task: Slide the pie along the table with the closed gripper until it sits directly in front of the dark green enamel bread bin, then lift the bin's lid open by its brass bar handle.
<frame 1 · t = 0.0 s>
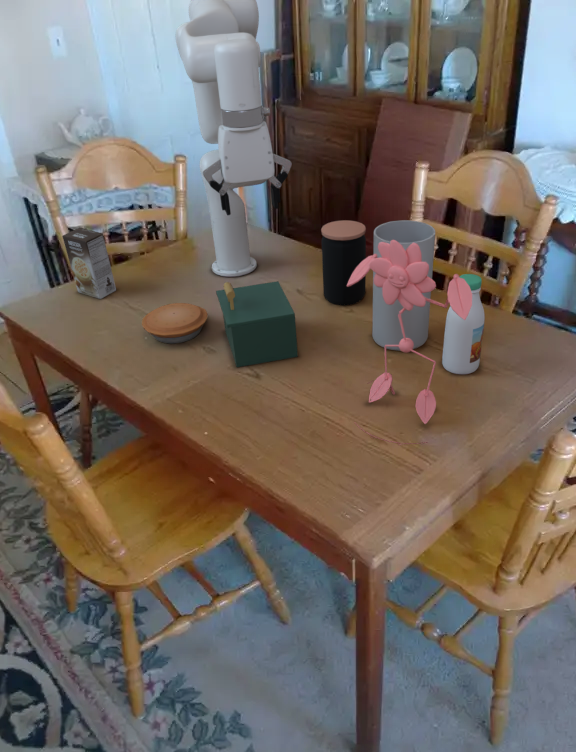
hand: (251, 209, 132), 31 cm above the table, tool pointing down, fingers open, 9 cm apart
milk bottle: (460, 366, 140), on the table
bread bin: (260, 343, 151), on the table
pie: (177, 332, 158), on the table
cylinder vase: (399, 338, 150), on the table
coffee box: (97, 292, 178), on the table
coffee jar: (344, 297, 168), on the table
bread bin lid: (253, 294, 144), point 13 cm above the table, hinge at 0.0°
figurine: (392, 418, 127), on the table
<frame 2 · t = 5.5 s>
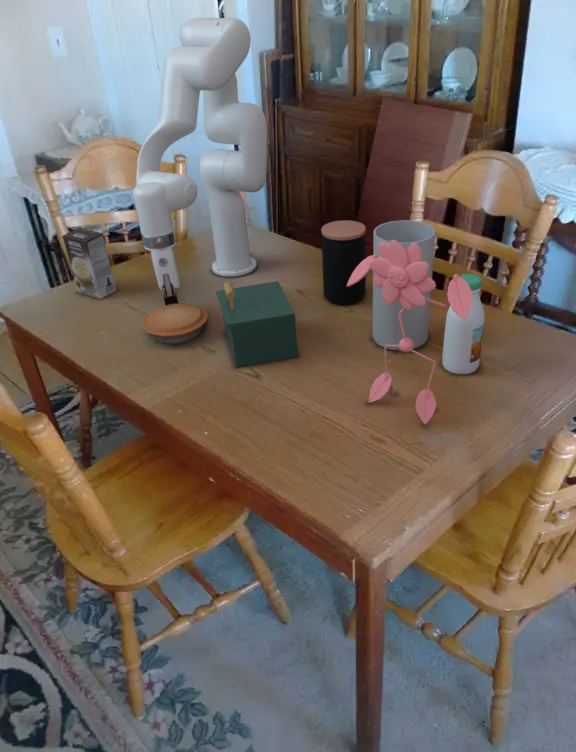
hand: (172, 309, 165), 1 cm above the table, tool pointing down, fingers closed
pie: (177, 333, 158), on the table, touching gripper
everything else where it was.
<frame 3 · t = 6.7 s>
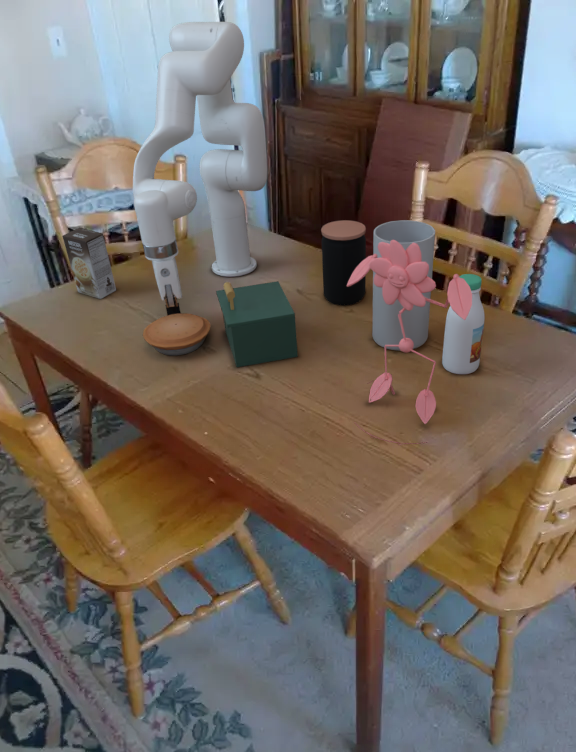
hand: (175, 319, 160), 1 cm above the table, tool pointing down, fingers closed
pie: (179, 344, 154), on the table, touching gripper
everything else where it was.
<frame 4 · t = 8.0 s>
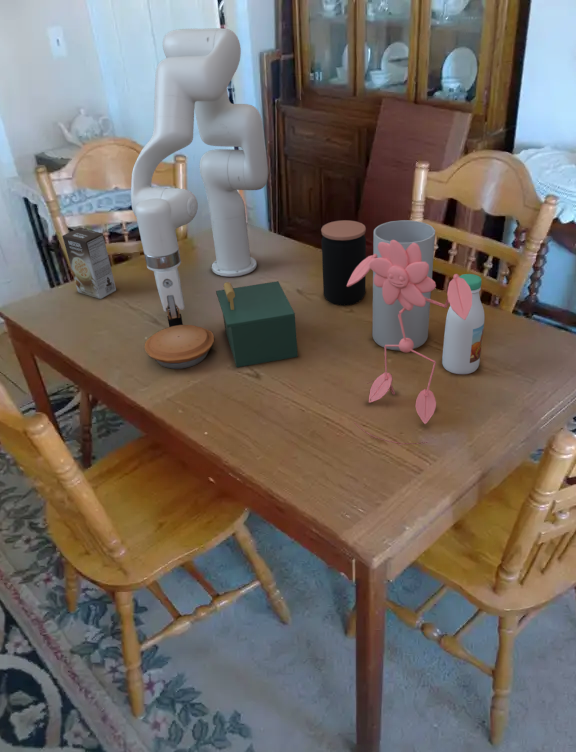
hand: (177, 331, 156), 1 cm above the table, tool pointing down, fingers closed
pie: (182, 356, 149), on the table, touching gripper
everything else where it was.
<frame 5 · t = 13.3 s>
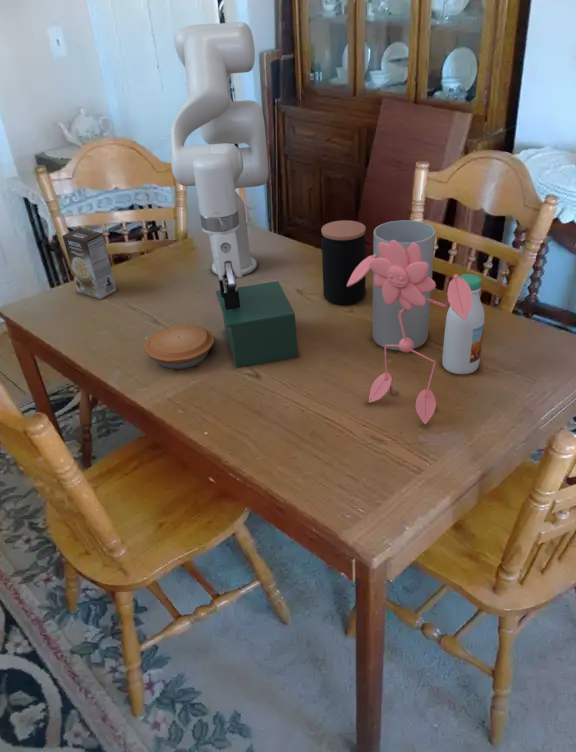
hand: (230, 301, 143), 12 cm above the table, tool pointing down, fingers closed on bread bin lid, 5 cm apart
pie: (182, 356, 149), on the table
bread bin lid: (253, 294, 144), point 13 cm above the table, hinge at 0.0°, touching gripper
everything else where it was.
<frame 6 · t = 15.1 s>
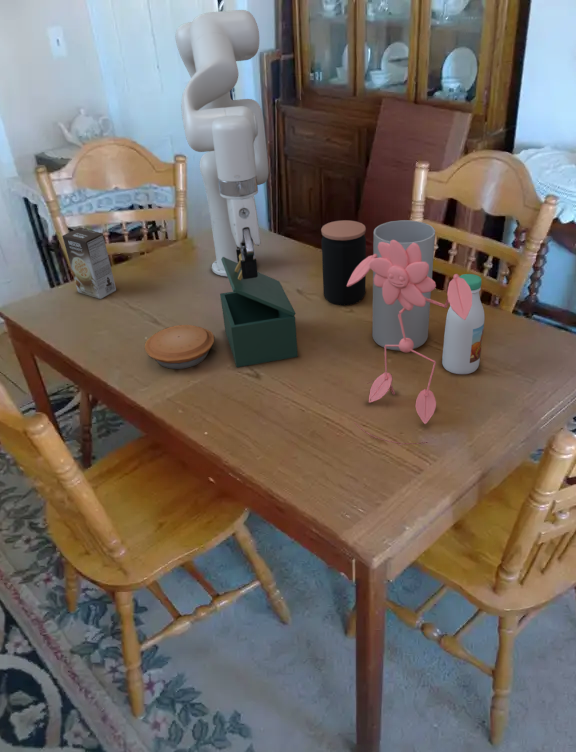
hand: (247, 271, 140), 18 cm above the table, tool pointing down, fingers closed on bread bin lid, 5 cm apart
bread bin lid: (262, 277, 142), point 16 cm above the table, hinge at 32.8°, touching gripper
everything else where it was.
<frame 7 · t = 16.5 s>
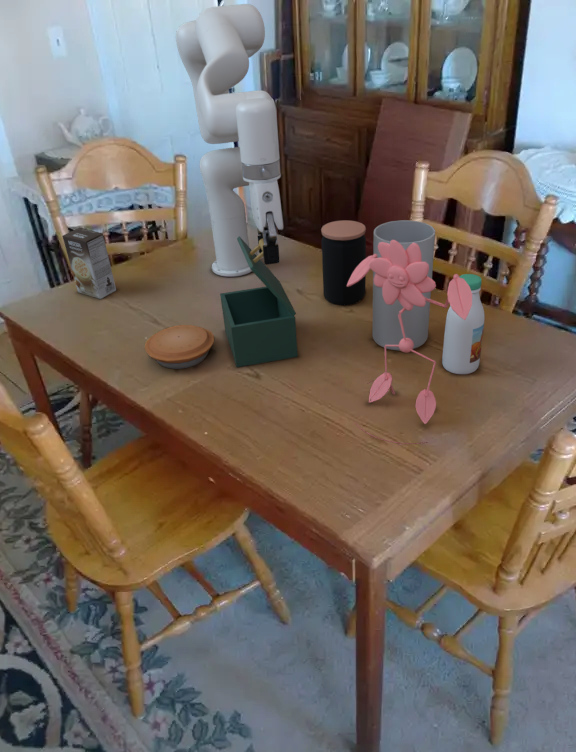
hand: (269, 257, 140), 20 cm above the table, tool pointing down, fingers closed on bread bin lid, 5 cm apart
bread bin lid: (273, 268, 141), point 18 cm above the table, hinge at 55.9°, touching gripper
everything else where it was.
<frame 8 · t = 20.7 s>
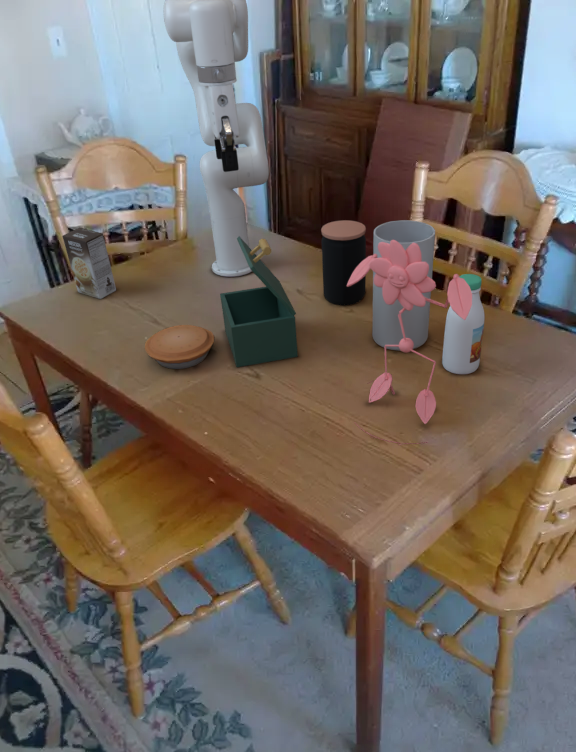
hand: (227, 164, 140), 36 cm above the table, tool pointing down, fingers open, 9 cm apart
bread bin lid: (273, 268, 141), point 18 cm above the table, hinge at 55.8°
everything else where it was.
at the end: pie inside the target area on the table beside the bread bin (0.5 cm from its centre), on the table; bread bin lid at +56° (first picture: +0°) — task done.
